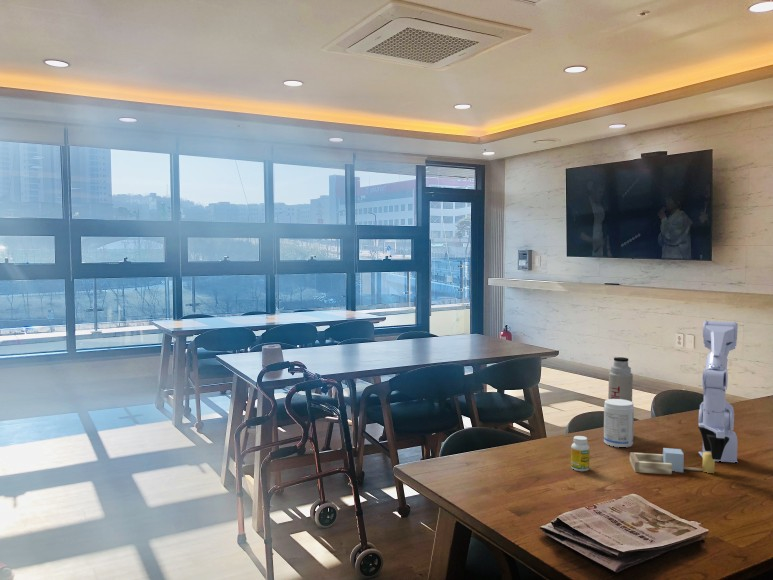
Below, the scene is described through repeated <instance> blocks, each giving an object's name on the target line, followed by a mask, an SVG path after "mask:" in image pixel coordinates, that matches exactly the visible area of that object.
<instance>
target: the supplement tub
mask: <svg viewBox="0 0 773 580" xmlns="http://www.w3.org/2000/svg"><path fill="white" fill-rule="evenodd" d="M603 407H604V408H603V442H604V443H605V444H606V445H607V446H609V445H610V447H613V446H614V447H613V448H619V447H626V448H629V447H632V446H633V444H634V417H635V415H634V412H635V411H634V409H635V406H634V402H633V401H632V402H631V401H628V400H623V399H606V400H604V406H603Z"/></svg>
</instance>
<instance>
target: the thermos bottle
mask: <svg viewBox="0 0 773 580" xmlns="http://www.w3.org/2000/svg"><path fill="white" fill-rule="evenodd" d="M631 369H632V368H631V367H630V366H629V358H627V357H623V356H622V357H619V356H615V357H613V365H611V366H610V372H609V373H608V399H623V400H628V401H631V402H633V385H634V383H633V380H634V379H633V378H634V377H633V376H634V374H633V373H631V372H632V370H631ZM608 399H607V400H608Z"/></svg>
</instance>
